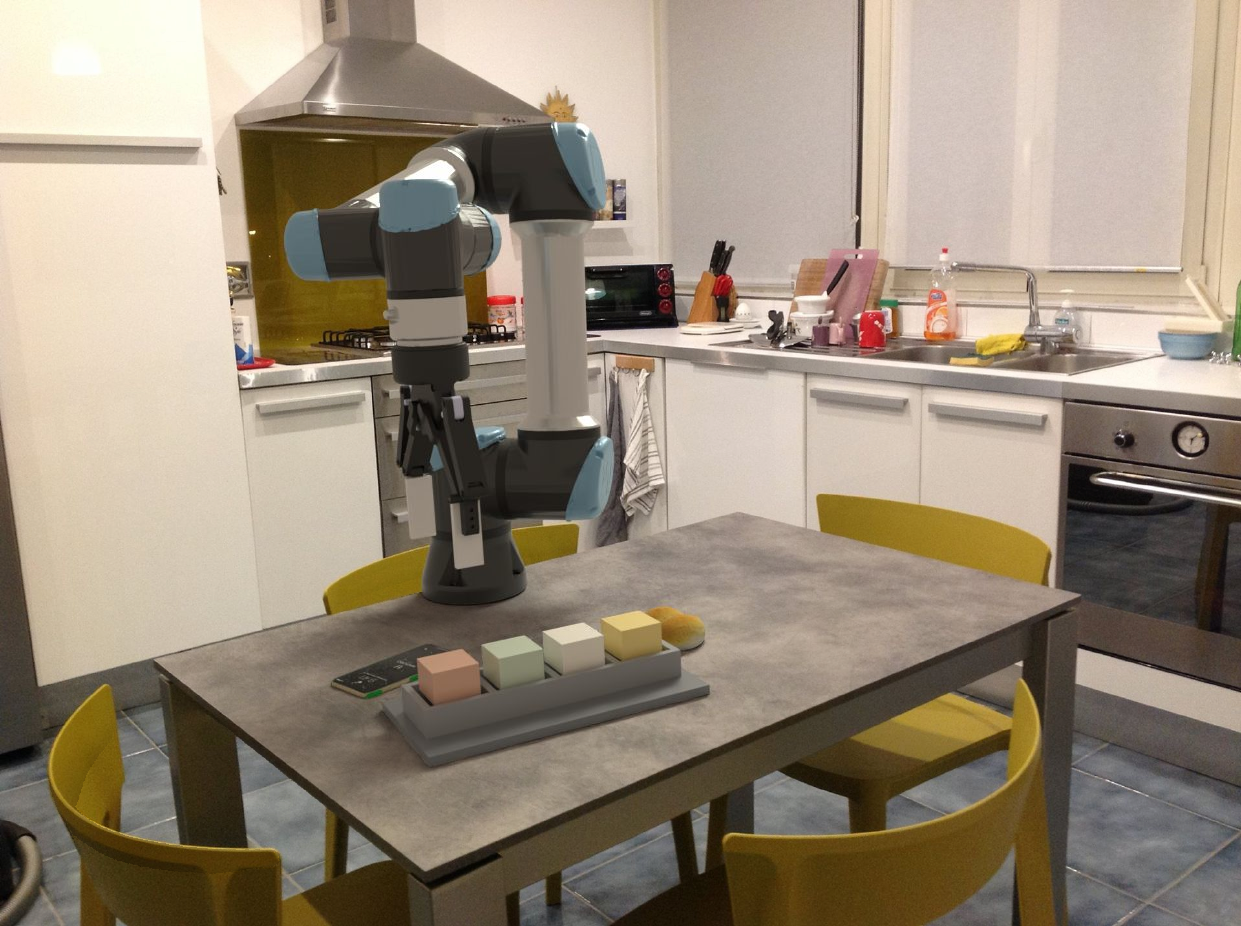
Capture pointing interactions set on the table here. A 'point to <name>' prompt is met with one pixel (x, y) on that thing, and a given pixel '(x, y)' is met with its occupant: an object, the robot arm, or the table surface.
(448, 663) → the key terracotta
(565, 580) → the table surface
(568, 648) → the key ivory
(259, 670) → the table surface
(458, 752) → the grey compartment tray
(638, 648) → the key mustard
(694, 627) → the bread roll
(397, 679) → the smartphone
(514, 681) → the key sage
